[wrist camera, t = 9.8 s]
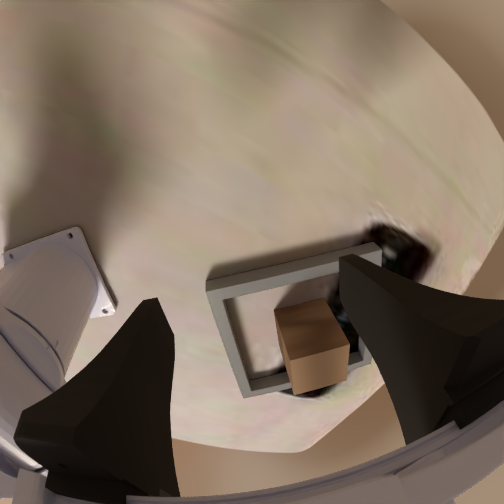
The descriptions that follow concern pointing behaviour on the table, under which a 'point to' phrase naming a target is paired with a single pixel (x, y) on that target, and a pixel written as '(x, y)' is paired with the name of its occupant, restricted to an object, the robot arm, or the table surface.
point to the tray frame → (268, 280)
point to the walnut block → (312, 345)
